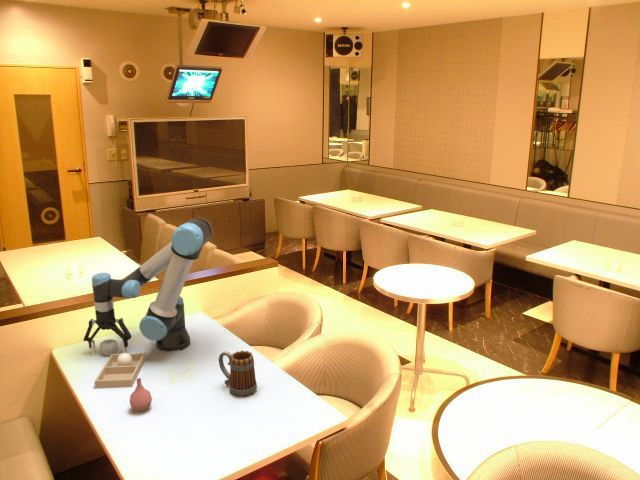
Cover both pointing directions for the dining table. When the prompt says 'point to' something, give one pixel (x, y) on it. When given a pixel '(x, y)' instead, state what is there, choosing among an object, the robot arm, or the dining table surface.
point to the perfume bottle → (140, 397)
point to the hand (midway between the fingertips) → (109, 354)
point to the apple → (108, 347)
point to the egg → (124, 359)
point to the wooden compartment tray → (120, 372)
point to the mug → (239, 373)
